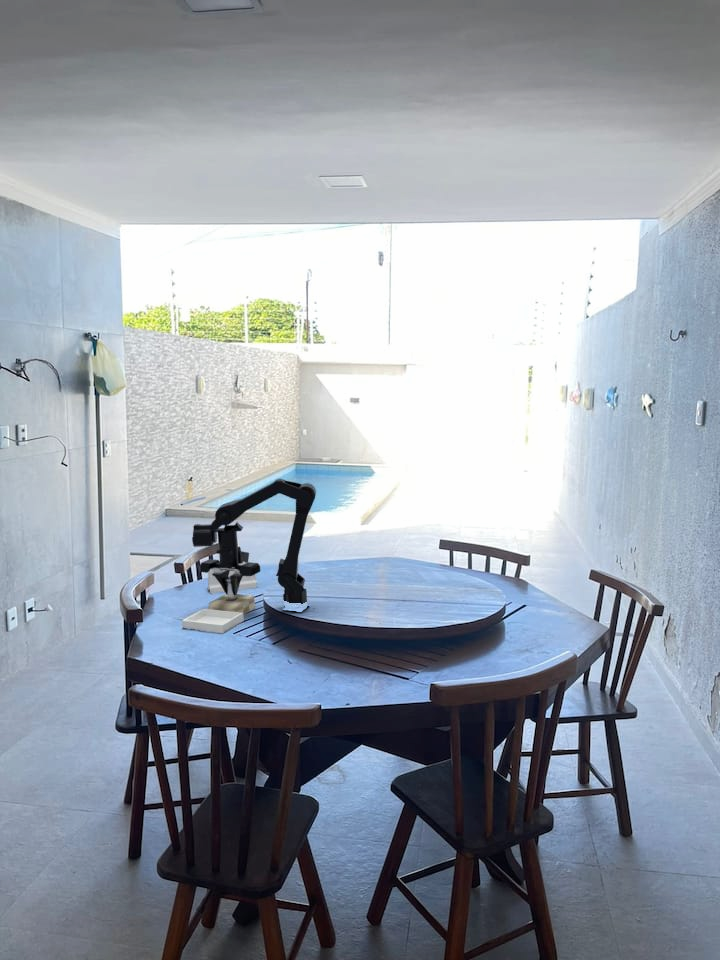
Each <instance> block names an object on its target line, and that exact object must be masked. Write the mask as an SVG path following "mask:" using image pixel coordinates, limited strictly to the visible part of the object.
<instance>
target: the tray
mask: <svg viewBox="0 0 720 960" xmlns="http://www.w3.org/2000/svg"><path fill="white" fill-rule="evenodd" d="M243 622H244V615H243V613H238V612H229V611H220V610H211V609H209V608H203V609H200V610H199V611H196V612H194V613H193V614H191V615H189V616H188V617H185V618H184V619H182V620H181V625H182V627H183V628H189V629H188V630H190V629H195V630H194V631H198V630H200V632H208V633H214V634H223V635H224V634H225V633H226V632H228V631H229V630H232V629H233V628H235V627H237V626H238V625H240V624H241V623H243ZM182 627H181V628H182ZM183 628H182V629H183Z"/></svg>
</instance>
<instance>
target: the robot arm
mask: <svg viewBox="0 0 720 960" xmlns="http://www.w3.org/2000/svg"><path fill="white" fill-rule="evenodd" d="M277 495H282V496H283V495H284V496H285V497H288V498H290V499H292V500H295V516H294V521H293V526H292V529H291V535H290V538H289V543H288V547H287V552H286V556H285V557H284V559H283V558H280V559H279V562H278V569H277V570H276V574H275V577H277V582H278V584H279V585H280V586H281V587H282V588H284V590H283V595H282V598H283V599H282V600H284V601H287V602H289V603H301V604H303V603H305V602H307V603H308V596H307V595H308V594H307V588H304V587H305V582H306V578H304V577H303V576H302V575H301V574H300V573H299V555H300V551H301V546H302V541H303V537H304V532H305V528H306V524H307V519H308V516H309V513H310V511H311V509H312V507H313V504H314V502H315V499H316V496H317V489H316V487H315V486H314V485H313V484H312V483H309V482H306V483H298V482H296V481H290V480H286V479H283V478H276V479H275V480H274V481H272V482H271V483H269V484H267V485H264V486H263V487H261V488H259V489H258V490H255V491H254V492H252V493H249V494H248V495H245V496H244V497H243V498H240V499H235V500H233V501H232V500H231V501H228V502H226V503H223V504H221V505H220V506H219V508H217V509H216V511H215V513H214V518H215V519H214V520H213V521H212V522H211V523H210V524H198V523H196V524H194V525H193V530H192V537H191V541H192V546H193V547H194V548H196V547H197V548H198V547H213V546H214V544H215V543H216V544H217V541H218V544H217V545H218V549H216V550H215V551H216V554H217V555H219V557H218V558H219V559H211V558H209V559H207V560H204V561H202V562H201V563H200V564H199V566H198V567H199V572H200V573H205V574H208V572H209V571H210V569H213V572H214V573H213V574H212V576H215V577H216V579H217V580H218V582H219V583H220V585H221V586H222V588H223V590H224V591H225V592H224V593H225V594H227V595H228V593H227V582H226V581H225V578H226V577H228V575H229V572H230V571H234V574H233V575H231V576H230V579H231V584H232V590H233V594H234V595H237V594H238V591H239V590H238V588H239V585H240V582H241V579H242V577H243V576H253V575H255V576H256V574H259V573H260V572H261V566H260V564H259V563H258V562H250V561H249V559H250V558H249V557H250V552H246V551H242V549H241V547H240V546H238V533H237V532H242V530H243V529H244V526H242V525H241V524H240V523H239V522H237V521H236V520H237V519H238V518H239V517H241V516H242V515H243V514H244V513H245V512H247V511H249V510H250V509H253V508H254V507H257V506H258V505H260V504H262V503H263V502H266V501H267V500H269V499H271V498H273V497H275V496H277ZM234 521H236V522H235V524H232V523H233V522H234ZM222 526H224V527H222ZM243 562H245V563H246V564H244V565H239V564H241V563H243ZM232 567H235V568H232Z"/></svg>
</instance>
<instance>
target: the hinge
mask: <svg viewBox="0 0 720 960" xmlns="http://www.w3.org/2000/svg"><path fill="white" fill-rule="evenodd" d="M244 564H246V563H245V562H243V563H241V564H239V565H244ZM232 568H235V567H232ZM213 573H214V572H213V569H210V571H209V572H208V573H207V591H209V593H210V594H211V595H212V594H217V593H218V594H220V593H225V591H224V590H223V588H222V586H221V585H220V583H219V582H218V580H217V579H216V577H215V576H212V574H213ZM233 574H234V571H230V572H229V575H228V577H230V576H231V575H233ZM256 588H257V589H258V581H257V577H256V574H255V575H253V576H243V577H242V579H241V582H240V585H239V588H238V591H242V590H249V589H256Z"/></svg>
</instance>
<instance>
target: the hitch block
mask: <svg viewBox="0 0 720 960" xmlns="http://www.w3.org/2000/svg"><path fill="white" fill-rule="evenodd" d="M255 602H256V599H255V595H251V594H249V595H248V594H239V593H237V595H236V600H235V601H228V595H227V594H226V593H225V594H222V595H221V596H219V597H217V598H215V599H214V600H212V601H210V602H208V606H209V607H208V609H211V610H220V611H229V612H238V613H243V616H244V615H246V614H248V613H249V612H252V611H253V610H255V609H256V604H255Z"/></svg>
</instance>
